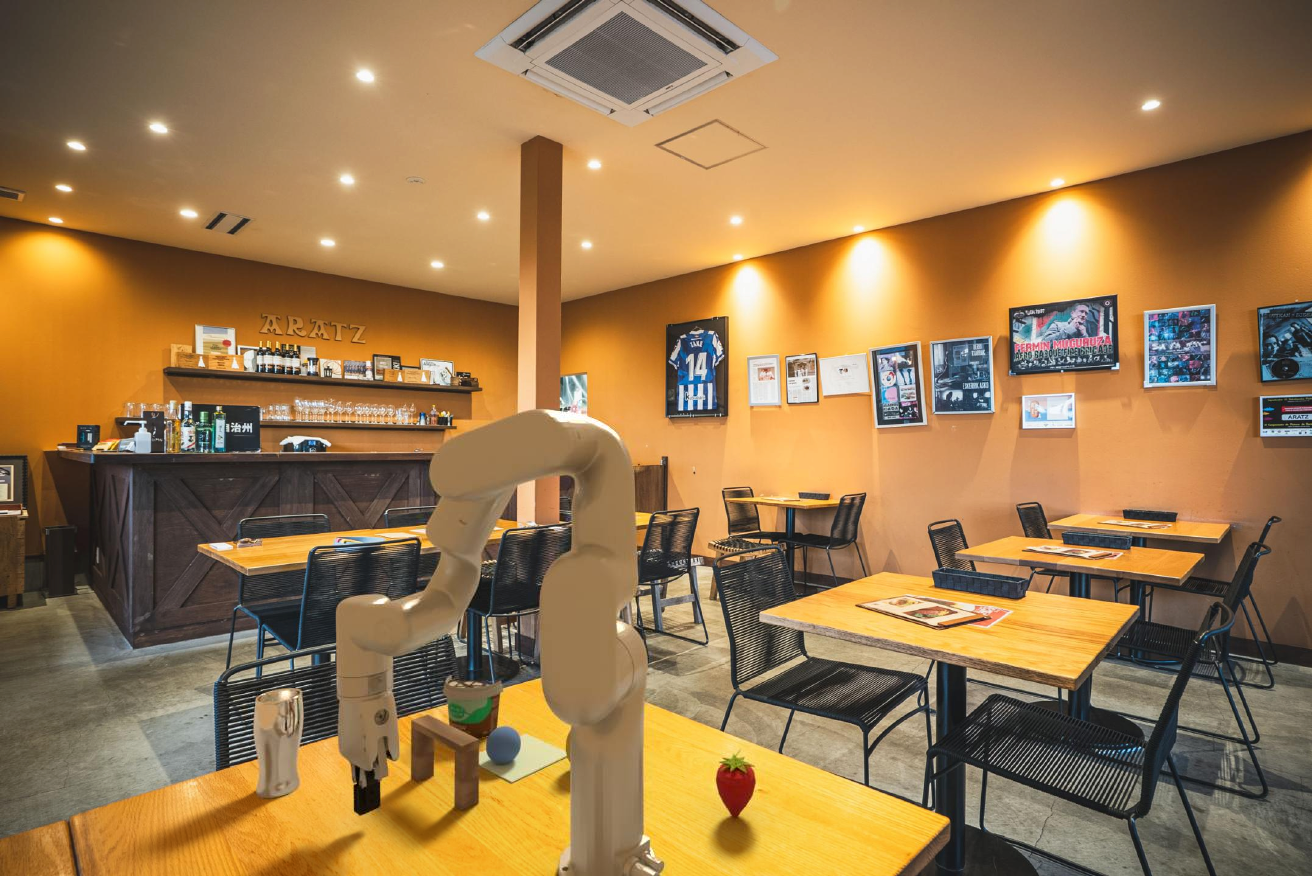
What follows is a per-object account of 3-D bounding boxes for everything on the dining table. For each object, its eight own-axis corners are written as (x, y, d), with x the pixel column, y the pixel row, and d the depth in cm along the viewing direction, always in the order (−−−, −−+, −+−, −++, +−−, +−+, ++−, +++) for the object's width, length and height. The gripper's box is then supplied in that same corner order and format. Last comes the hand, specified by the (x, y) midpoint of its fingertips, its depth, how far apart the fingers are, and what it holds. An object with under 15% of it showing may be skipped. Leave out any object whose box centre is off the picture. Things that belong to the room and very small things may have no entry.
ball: (498, 750, 108) (508, 776, 110) (522, 723, 113) (532, 749, 115) (474, 740, 112) (484, 765, 114) (498, 714, 116) (508, 739, 118)
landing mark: (571, 754, 116) (571, 753, 116) (511, 782, 106) (511, 781, 106) (525, 734, 124) (525, 733, 124) (466, 758, 114) (466, 757, 114)
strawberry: (756, 804, 99) (756, 738, 99) (755, 832, 92) (755, 761, 92) (717, 801, 100) (717, 735, 100) (714, 829, 93) (713, 758, 93)
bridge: (427, 771, 110) (427, 714, 110) (478, 802, 100) (479, 739, 100) (410, 778, 107) (411, 719, 108) (461, 810, 98) (461, 746, 98)
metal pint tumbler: (243, 793, 103) (244, 698, 103) (285, 774, 109) (286, 684, 109) (269, 804, 100) (270, 706, 100) (312, 784, 106) (312, 691, 106)
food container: (429, 738, 123) (429, 685, 123) (448, 725, 129) (448, 674, 129) (486, 746, 119) (486, 691, 119) (503, 732, 125) (503, 680, 125)
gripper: (415, 685, 92) (418, 815, 92) (366, 665, 102) (368, 783, 101) (363, 701, 86) (365, 840, 86) (317, 679, 96) (318, 804, 96)
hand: (367, 809), depth 94 cm, fingers closed
